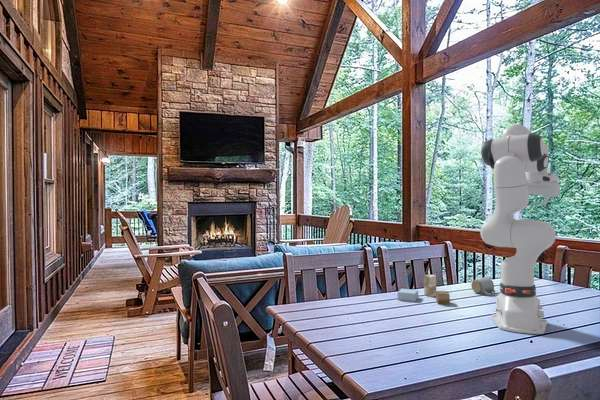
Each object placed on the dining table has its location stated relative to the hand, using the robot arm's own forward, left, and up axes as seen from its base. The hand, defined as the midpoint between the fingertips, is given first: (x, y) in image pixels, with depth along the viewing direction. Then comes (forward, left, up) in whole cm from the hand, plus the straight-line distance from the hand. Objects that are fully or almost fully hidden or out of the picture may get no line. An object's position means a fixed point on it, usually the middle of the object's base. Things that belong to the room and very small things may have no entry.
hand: (534, 203), depth 187 cm
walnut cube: (-37, +40, -45) cm, 70 cm away
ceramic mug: (-11, +23, -45) cm, 52 cm away
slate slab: (-35, +56, -45) cm, 80 cm away
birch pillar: (-25, +47, -45) cm, 70 cm away
